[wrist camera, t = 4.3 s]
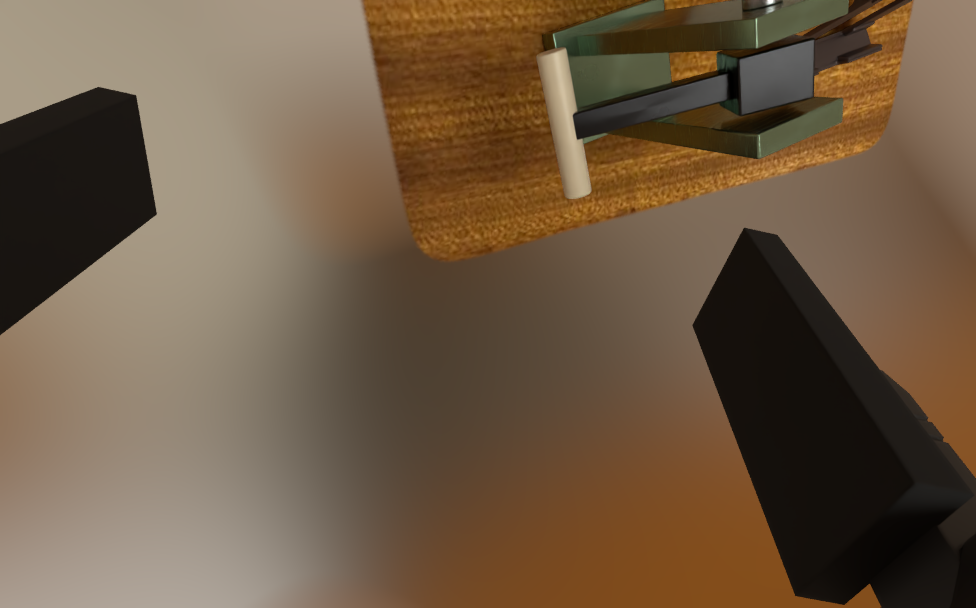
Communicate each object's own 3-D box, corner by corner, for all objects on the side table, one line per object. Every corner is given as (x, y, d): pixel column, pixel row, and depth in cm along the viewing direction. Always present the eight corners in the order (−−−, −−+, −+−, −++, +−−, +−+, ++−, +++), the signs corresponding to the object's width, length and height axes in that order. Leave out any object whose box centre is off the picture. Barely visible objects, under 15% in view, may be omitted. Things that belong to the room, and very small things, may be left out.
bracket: (563, 145, 32) (733, 184, 21) (541, 34, 29) (725, 12, 18) (661, 107, 33) (866, 124, 22) (649, -2, 30) (877, -42, 20)
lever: (562, 188, 26) (567, 206, 23) (534, 52, 23) (537, 58, 21) (786, 132, 24) (813, 146, 22) (786, -21, 21) (818, -22, 19)
